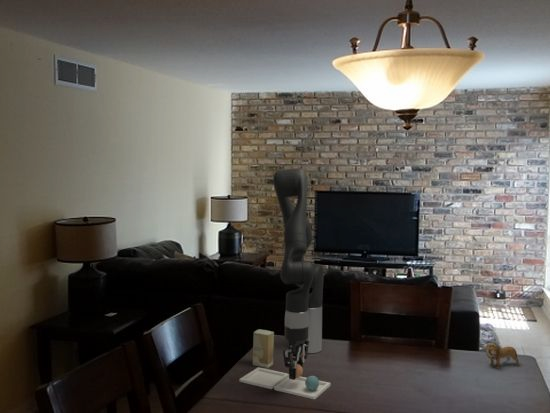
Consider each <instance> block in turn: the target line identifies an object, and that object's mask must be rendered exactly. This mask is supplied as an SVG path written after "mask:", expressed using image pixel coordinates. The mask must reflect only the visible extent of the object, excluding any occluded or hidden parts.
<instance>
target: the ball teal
mask: <svg viewBox="0 0 550 413" xmlns="http://www.w3.org/2000/svg"><path fill="white" fill-rule="evenodd" d="M306 378H307V379H306V381H305V385H306V387H307V388H308V389H309V390H316V389H317V388H318V386H319V381H320V380H319V378H318V377H317V376H315V375H309V376H308V377H306Z"/></svg>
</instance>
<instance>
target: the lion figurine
mask: <svg viewBox="0 0 550 413" xmlns="http://www.w3.org/2000/svg"><path fill="white" fill-rule="evenodd" d="M486 344H487V345H485V353H486V354H485V355H486V356H487V358H488V359H489V360H490V363H489V364H488V365H489V367H493V366H494V364H496V365H495V369H499V368H500V360H501V359H504V358H506V359H505V361H503V362H502V363H503V364H504V365H507V364H508V363H509V362H510V361H511V359H512V360H514V361H515V364H514V366H515V367H518V366H520V363H519V362H520V360H519V359H518V352H517V350H516V349H515V347H513V346H505V347H499V346H498V344H495V343H493V342H489V343H486ZM494 361H496V363H495V362H494Z"/></svg>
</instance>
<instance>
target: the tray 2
mask: <svg viewBox="0 0 550 413" xmlns="http://www.w3.org/2000/svg"><path fill="white" fill-rule="evenodd" d="M307 378H308V377H304V376H302V375H301V376H300V377H299V378H296V379H295V380H292V379H289V377H288V378H286V379H285V380H284V381H282V382H281V383H280V384H278V385H277V386H275V387H274V388H273V390H274V391H277V392H280V393H286V394H289V395H294V396H297V397H303V398H306V399H311V400H316V399H317V398H319V397H320V396H321V395H322V394H323V393H324V392H325V391H326V390H328V389H329V388H330V387H331V385H332V384H331V382H329V381H328V382H327V381H323V380H319V386H318V388H317V389H316V390H309V389H308V388H307V387H306V385H305V381H306V379H307Z"/></svg>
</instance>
